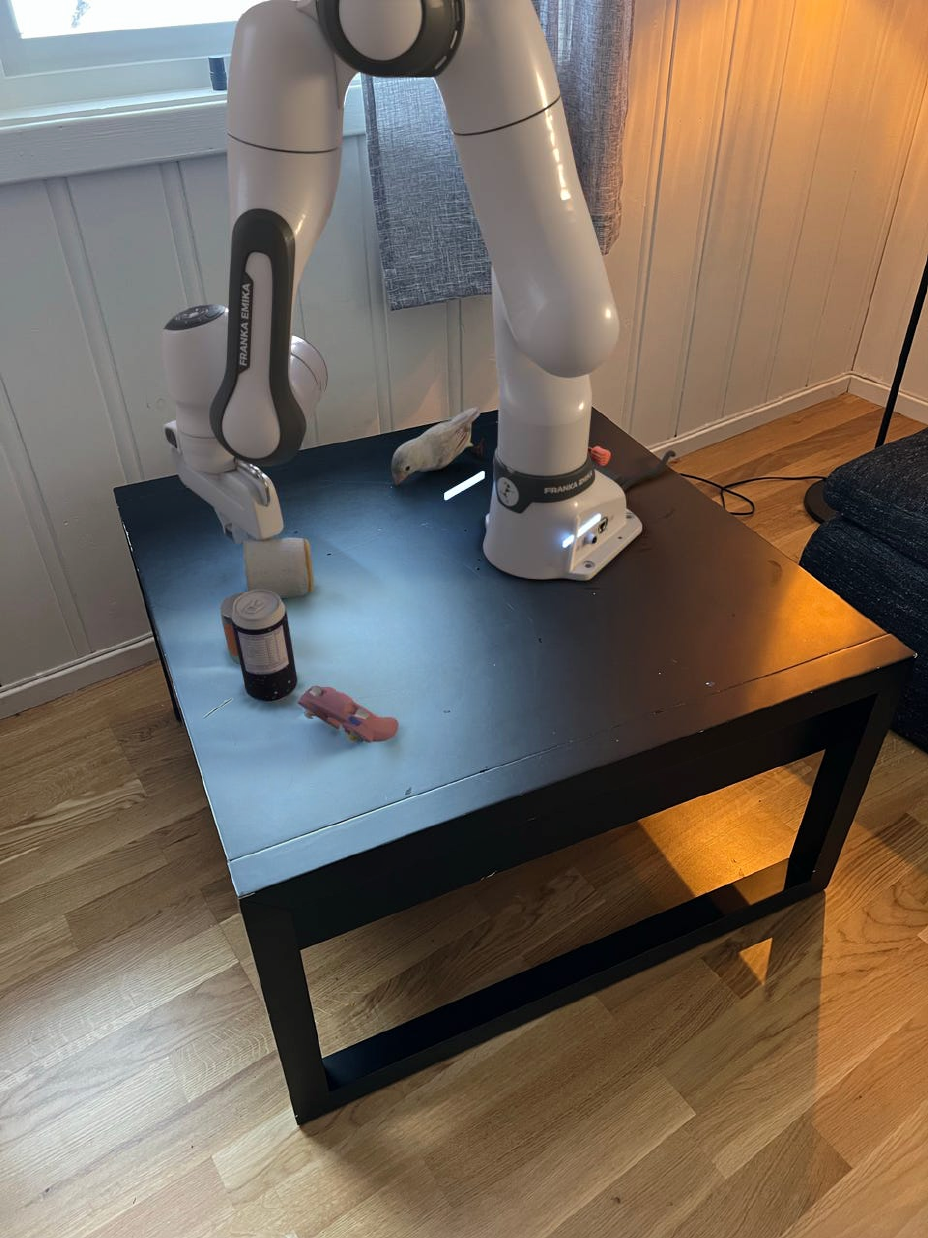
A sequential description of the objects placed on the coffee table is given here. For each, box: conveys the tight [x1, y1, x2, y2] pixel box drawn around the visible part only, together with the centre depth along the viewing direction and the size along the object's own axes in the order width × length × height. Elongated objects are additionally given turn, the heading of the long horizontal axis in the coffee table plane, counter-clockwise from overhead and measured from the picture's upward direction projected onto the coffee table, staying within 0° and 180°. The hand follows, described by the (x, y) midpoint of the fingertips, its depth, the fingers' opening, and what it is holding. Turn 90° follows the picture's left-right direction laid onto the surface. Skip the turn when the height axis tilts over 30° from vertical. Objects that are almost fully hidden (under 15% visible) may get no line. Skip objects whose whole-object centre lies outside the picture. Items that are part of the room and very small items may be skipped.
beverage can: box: [231, 590, 298, 704], centre depth 99 cm, size 6×6×12 cm
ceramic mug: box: [242, 536, 315, 600], centre depth 115 cm, size 11×8×8 cm
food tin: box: [219, 592, 245, 666], centre depth 105 cm, size 5×5×7 cm
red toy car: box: [297, 685, 400, 744], centre depth 96 cm, size 10×5×7 cm, turn 56°
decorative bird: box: [390, 406, 484, 486], centre depth 138 cm, size 5×16×8 cm, turn 130°
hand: (236, 537), depth 121 cm, fingers closed
